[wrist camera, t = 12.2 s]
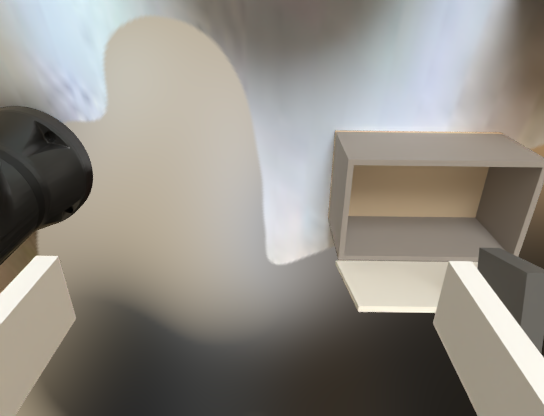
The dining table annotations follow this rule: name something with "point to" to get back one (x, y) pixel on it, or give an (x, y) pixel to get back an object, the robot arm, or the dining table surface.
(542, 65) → the dining table surface
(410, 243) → the open cabinet
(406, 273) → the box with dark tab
